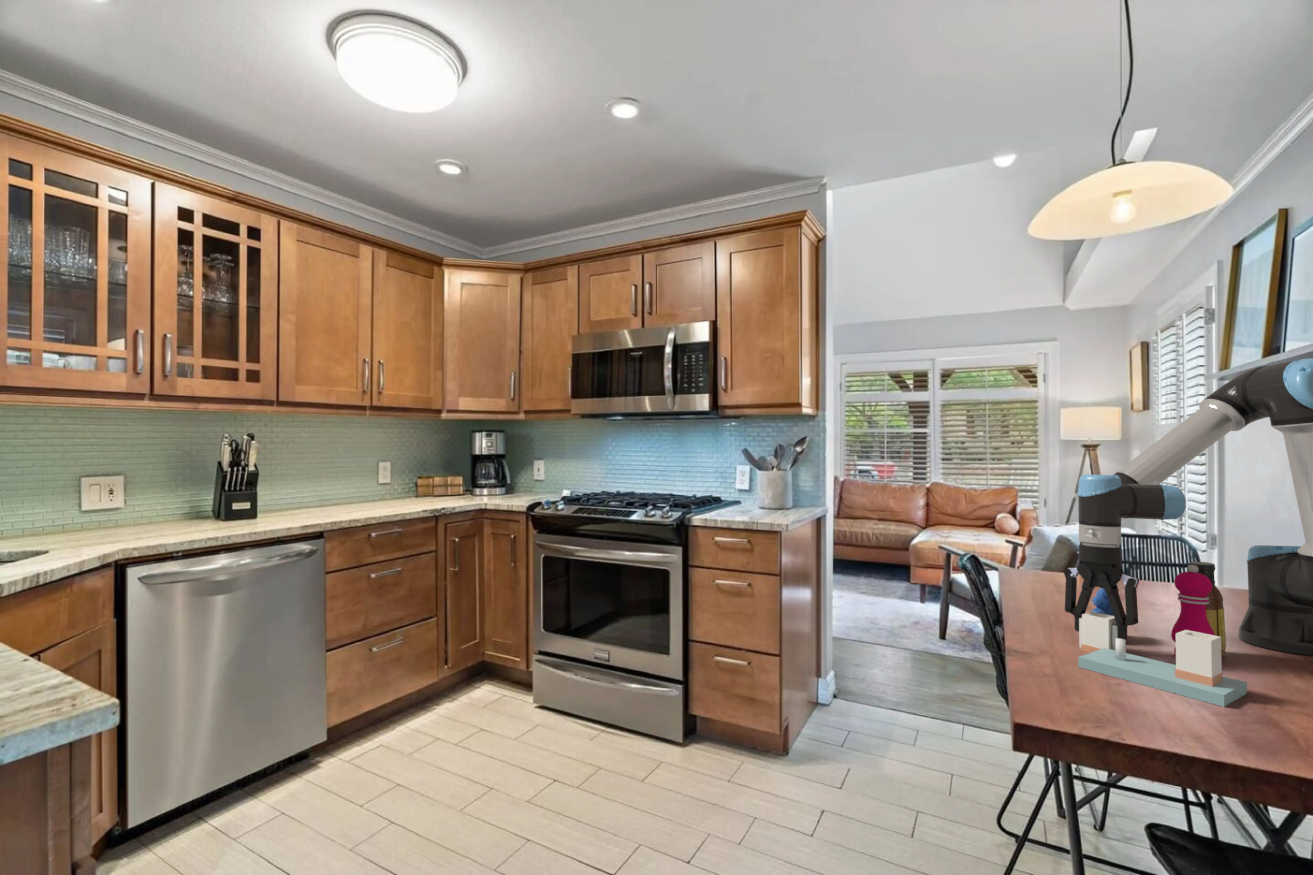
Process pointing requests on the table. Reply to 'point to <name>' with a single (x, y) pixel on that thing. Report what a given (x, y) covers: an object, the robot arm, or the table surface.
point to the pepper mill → (1192, 602)
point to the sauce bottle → (1214, 604)
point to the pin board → (1158, 675)
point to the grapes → (1102, 603)
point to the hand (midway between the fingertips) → (1100, 651)
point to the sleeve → (1096, 631)
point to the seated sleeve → (1198, 657)
